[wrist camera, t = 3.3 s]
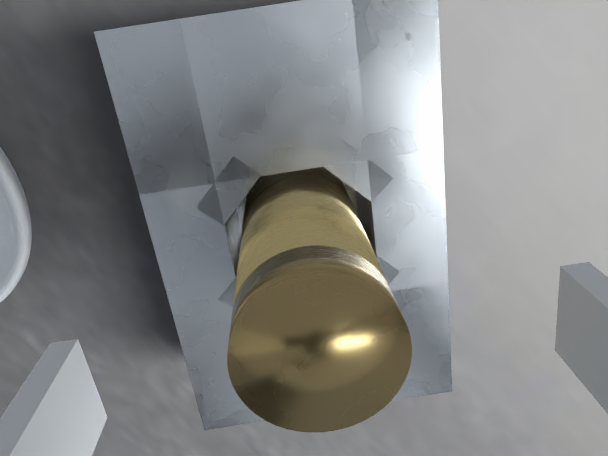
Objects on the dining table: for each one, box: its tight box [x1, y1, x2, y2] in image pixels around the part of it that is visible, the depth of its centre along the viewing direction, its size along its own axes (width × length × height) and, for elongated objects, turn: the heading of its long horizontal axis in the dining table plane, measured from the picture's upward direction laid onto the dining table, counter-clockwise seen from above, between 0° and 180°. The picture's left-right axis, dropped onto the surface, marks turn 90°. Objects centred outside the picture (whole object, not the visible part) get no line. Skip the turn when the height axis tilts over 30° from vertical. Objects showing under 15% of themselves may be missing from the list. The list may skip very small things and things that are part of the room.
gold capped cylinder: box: [227, 167, 412, 432], centre depth 20 cm, size 5×5×13 cm
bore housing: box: [94, 0, 452, 430], centre depth 24 cm, size 12×18×6 cm, turn 8°
